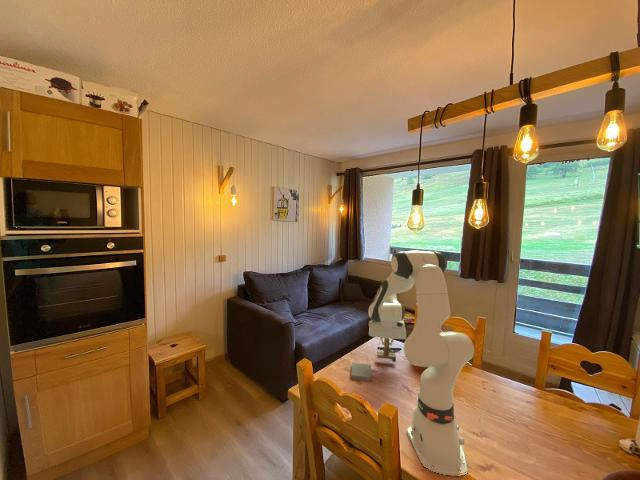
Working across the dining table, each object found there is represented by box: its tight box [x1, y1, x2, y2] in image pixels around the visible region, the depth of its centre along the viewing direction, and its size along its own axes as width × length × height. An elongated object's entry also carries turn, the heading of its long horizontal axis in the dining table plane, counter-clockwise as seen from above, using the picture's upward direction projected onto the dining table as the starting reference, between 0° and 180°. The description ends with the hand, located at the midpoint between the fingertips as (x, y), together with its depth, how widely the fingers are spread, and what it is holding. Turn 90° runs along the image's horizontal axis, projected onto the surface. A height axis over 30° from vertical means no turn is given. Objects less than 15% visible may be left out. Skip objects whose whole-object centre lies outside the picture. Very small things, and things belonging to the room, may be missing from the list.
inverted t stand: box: [376, 338, 397, 360], centre depth 148 cm, size 4×10×10 cm, turn 82°
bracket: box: [377, 346, 403, 362], centre depth 157 cm, size 14×15×3 cm
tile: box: [350, 362, 372, 382], centre depth 137 cm, size 2×10×12 cm
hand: (386, 344), depth 148 cm, fingers closed on inverted t stand, 2 cm apart
